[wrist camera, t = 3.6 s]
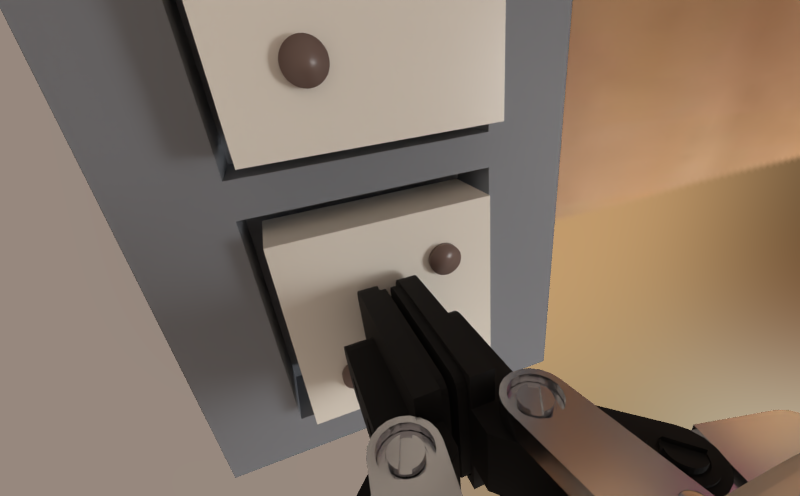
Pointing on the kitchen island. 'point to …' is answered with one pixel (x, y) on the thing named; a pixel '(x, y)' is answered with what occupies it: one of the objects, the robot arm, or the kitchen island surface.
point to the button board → (278, 199)
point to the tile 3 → (374, 272)
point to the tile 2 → (347, 71)
